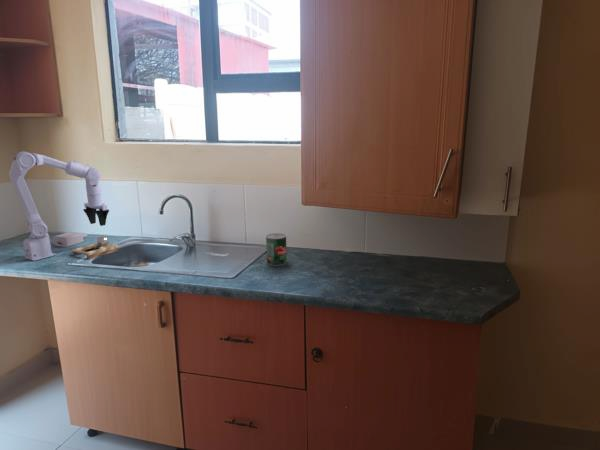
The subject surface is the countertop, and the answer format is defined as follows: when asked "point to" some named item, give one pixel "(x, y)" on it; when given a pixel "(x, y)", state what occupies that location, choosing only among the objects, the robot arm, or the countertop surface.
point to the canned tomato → (276, 249)
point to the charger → (69, 239)
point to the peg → (102, 241)
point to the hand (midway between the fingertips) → (97, 224)
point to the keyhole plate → (95, 250)
